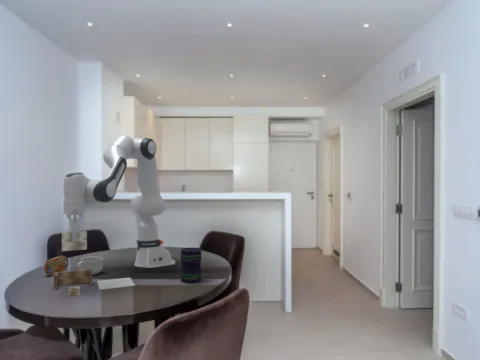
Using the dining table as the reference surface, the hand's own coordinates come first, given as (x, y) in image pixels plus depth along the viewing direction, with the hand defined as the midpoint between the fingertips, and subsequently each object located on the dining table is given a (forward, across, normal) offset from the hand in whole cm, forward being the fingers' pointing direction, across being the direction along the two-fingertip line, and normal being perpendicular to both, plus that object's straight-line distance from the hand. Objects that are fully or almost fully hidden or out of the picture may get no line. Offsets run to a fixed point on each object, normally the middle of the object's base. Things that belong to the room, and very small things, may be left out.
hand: (74, 240), depth 160 cm
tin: (+21, +32, +8) cm, 40 cm away
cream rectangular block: (+4, 0, 0) cm, 4 cm away
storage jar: (+21, -10, -50) cm, 55 cm away
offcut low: (+22, -9, 0) cm, 23 cm away
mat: (+21, 0, -17) cm, 27 cm away
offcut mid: (+21, -8, 0) cm, 22 cm away
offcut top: (+19, -9, 0) cm, 21 cm away
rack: (+21, +5, 0) cm, 22 cm away
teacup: (+21, +23, -7) cm, 32 cm away
